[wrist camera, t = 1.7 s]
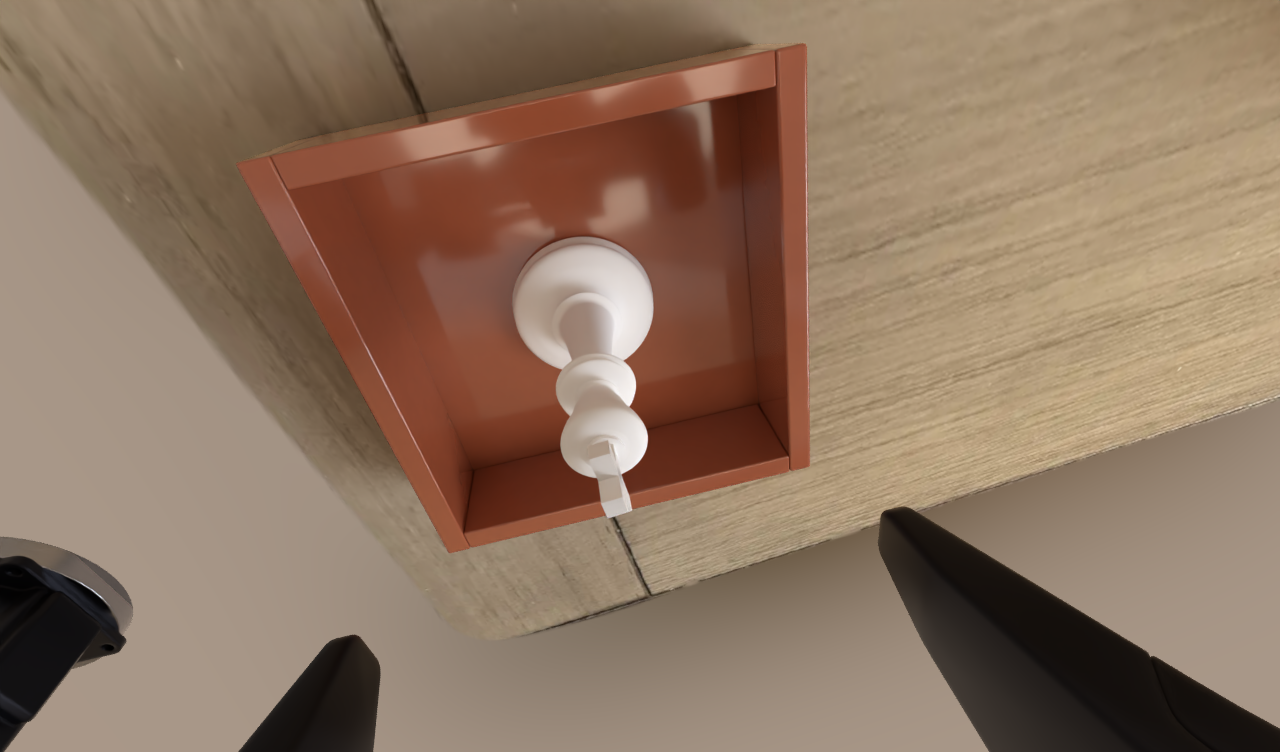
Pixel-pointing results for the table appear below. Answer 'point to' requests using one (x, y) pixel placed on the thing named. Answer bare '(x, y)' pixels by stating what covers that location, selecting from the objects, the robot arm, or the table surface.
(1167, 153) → the table surface
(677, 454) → the open box
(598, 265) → the chess piece
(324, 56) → the table surface
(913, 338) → the table surface
